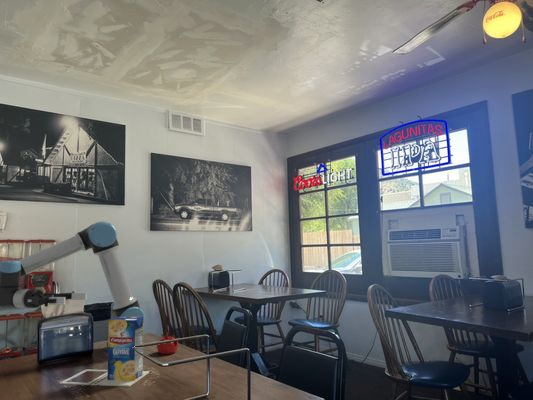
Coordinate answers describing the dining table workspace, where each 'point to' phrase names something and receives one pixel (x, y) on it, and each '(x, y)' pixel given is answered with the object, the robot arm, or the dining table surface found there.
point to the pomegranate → (167, 346)
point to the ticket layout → (104, 380)
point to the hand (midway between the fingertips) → (76, 298)
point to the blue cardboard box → (125, 348)
